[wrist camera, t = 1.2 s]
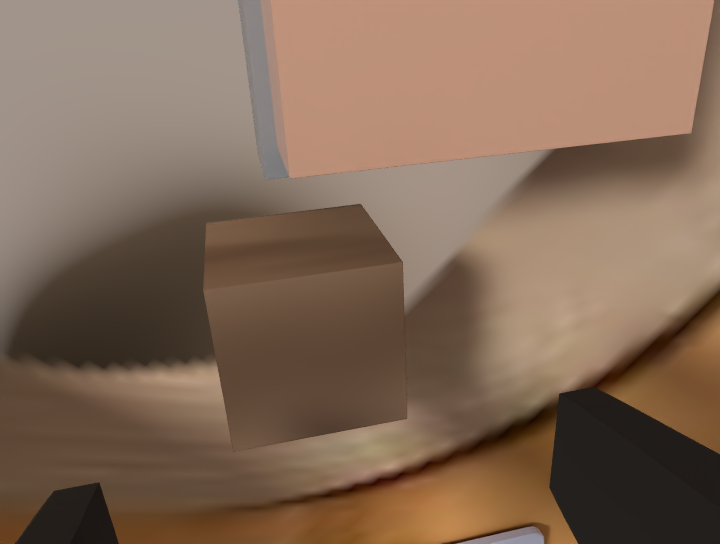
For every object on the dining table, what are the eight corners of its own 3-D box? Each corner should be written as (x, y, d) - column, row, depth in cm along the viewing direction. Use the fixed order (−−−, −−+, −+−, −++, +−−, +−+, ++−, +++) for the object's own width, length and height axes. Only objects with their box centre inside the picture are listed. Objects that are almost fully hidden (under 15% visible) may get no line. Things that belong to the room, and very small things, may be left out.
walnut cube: (368, 334, 17) (406, 418, 14) (229, 356, 17) (233, 451, 13) (360, 203, 16) (402, 261, 12) (206, 222, 15) (203, 290, 12)
